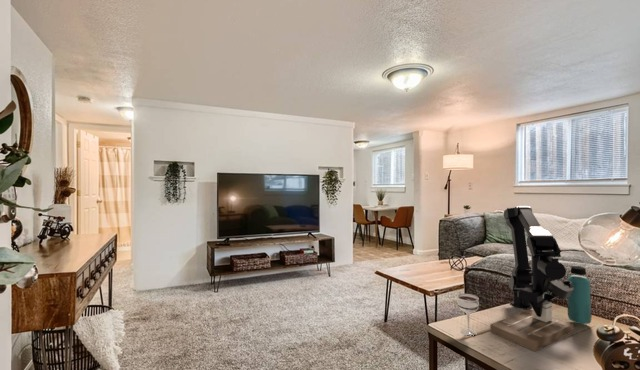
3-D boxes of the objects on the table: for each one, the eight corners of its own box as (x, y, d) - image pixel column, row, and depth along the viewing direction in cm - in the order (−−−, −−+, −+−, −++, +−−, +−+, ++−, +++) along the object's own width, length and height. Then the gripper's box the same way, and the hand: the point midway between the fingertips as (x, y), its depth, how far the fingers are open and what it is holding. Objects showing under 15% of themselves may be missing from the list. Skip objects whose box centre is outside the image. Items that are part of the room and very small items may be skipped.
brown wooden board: (528, 315, 117) (528, 308, 117) (573, 331, 105) (573, 323, 105) (490, 331, 107) (490, 324, 106) (534, 351, 94) (534, 342, 94)
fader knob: (537, 315, 112) (537, 298, 111) (552, 319, 108) (551, 302, 107) (532, 317, 110) (532, 300, 110) (546, 322, 106) (546, 304, 106)
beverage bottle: (596, 329, 106) (595, 270, 105) (573, 327, 107) (573, 269, 107) (584, 320, 112) (583, 264, 112) (563, 319, 114) (562, 264, 113)
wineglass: (484, 333, 105) (483, 298, 105) (471, 339, 102) (471, 302, 102) (465, 325, 111) (464, 292, 111) (453, 331, 108) (452, 296, 107)
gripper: (553, 281, 97) (553, 332, 97) (583, 271, 106) (583, 317, 106) (516, 272, 107) (516, 318, 107) (546, 264, 115) (546, 306, 116)
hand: (542, 315), depth 109 cm, fingers closed on fader knob, 3 cm apart
